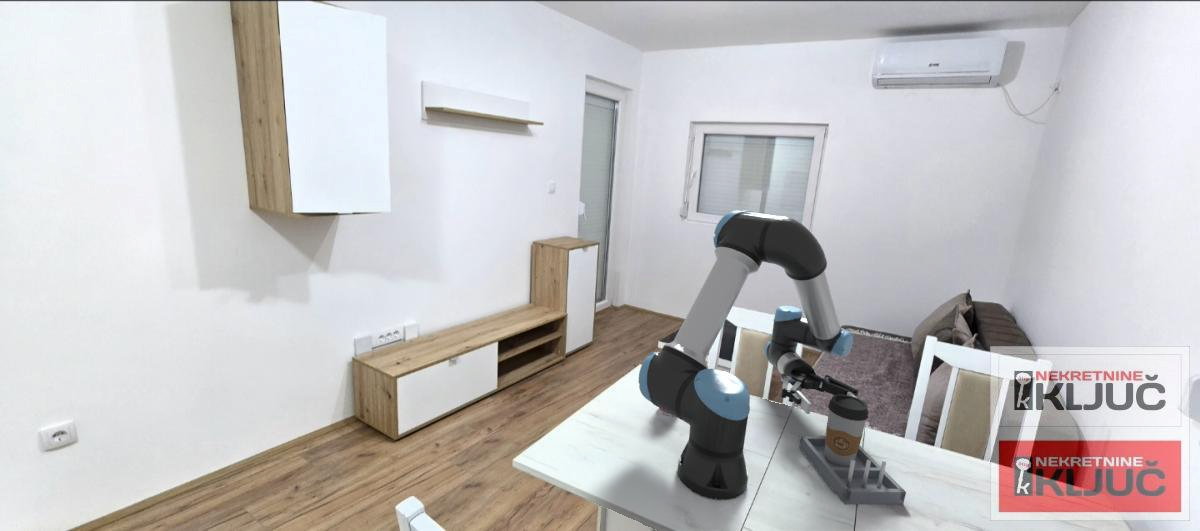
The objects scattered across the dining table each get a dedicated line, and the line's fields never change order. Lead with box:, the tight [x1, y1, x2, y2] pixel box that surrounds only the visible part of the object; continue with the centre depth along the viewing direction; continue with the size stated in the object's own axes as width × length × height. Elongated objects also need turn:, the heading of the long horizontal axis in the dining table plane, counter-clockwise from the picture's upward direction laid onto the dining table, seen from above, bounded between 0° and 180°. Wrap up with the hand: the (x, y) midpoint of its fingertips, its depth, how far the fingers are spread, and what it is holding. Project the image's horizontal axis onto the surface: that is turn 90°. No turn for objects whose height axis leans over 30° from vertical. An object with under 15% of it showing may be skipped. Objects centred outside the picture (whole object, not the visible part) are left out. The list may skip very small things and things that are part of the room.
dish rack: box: [798, 435, 907, 505], centre depth 108 cm, size 20×13×8 cm, turn 4°
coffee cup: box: [824, 394, 869, 467], centre depth 111 cm, size 8×8×15 cm
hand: (836, 409), depth 115 cm, fingers open, 13 cm apart
